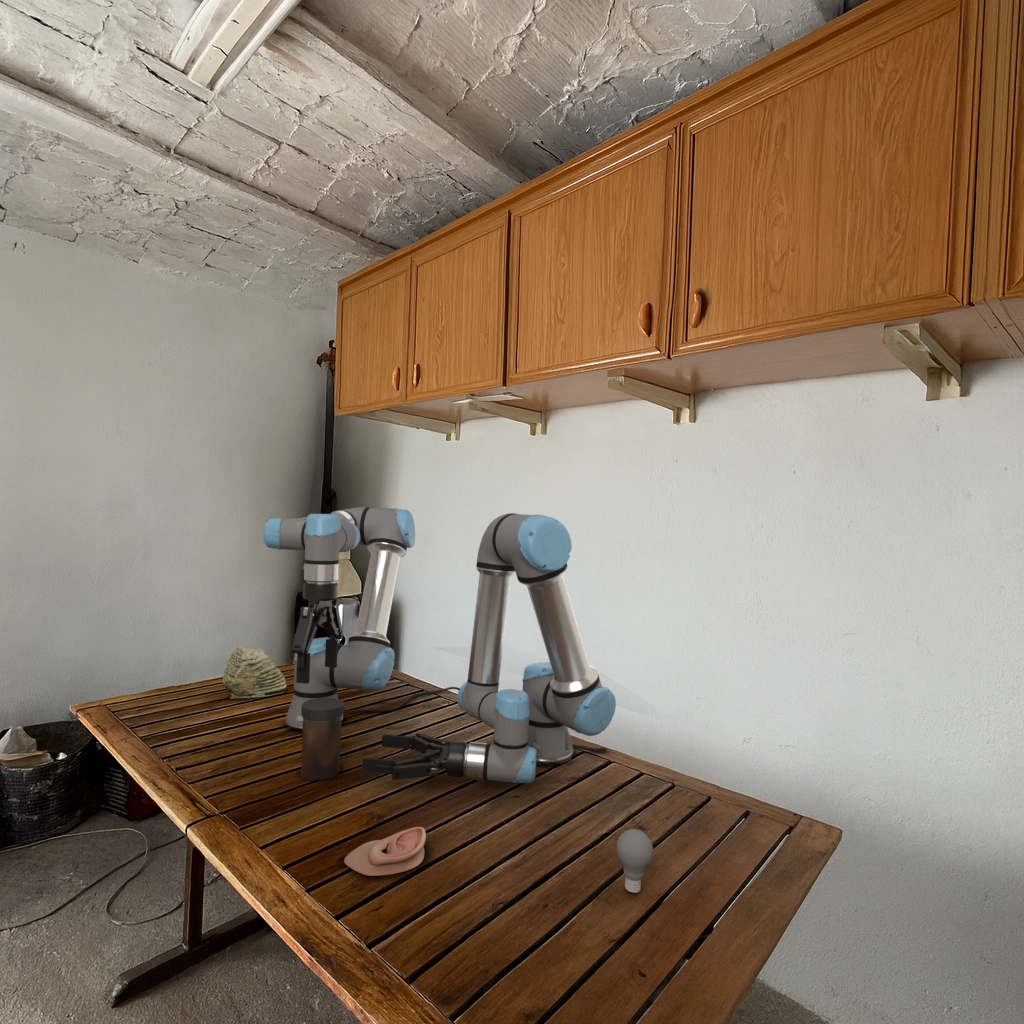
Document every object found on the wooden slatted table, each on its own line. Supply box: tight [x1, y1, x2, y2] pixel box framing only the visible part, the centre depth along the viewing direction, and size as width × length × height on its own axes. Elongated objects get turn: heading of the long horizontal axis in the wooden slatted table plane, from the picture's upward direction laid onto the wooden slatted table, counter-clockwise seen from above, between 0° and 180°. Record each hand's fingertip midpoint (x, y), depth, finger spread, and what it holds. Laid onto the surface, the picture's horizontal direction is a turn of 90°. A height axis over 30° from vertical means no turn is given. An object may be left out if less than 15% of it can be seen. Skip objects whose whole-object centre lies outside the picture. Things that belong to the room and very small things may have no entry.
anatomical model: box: [343, 826, 427, 877], centre depth 112 cm, size 13×4×12 cm
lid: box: [301, 698, 345, 721], centre depth 145 cm, size 9×9×2 cm
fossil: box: [222, 646, 288, 699], centre depth 198 cm, size 9×18×15 cm, turn 132°
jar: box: [300, 716, 342, 781], centre depth 145 cm, size 8×8×15 cm
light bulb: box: [615, 828, 654, 894], centre depth 106 cm, size 6×6×10 cm
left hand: (317, 674), depth 144 cm, fingers open, 13 cm apart
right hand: (373, 751), depth 142 cm, fingers open, 13 cm apart
